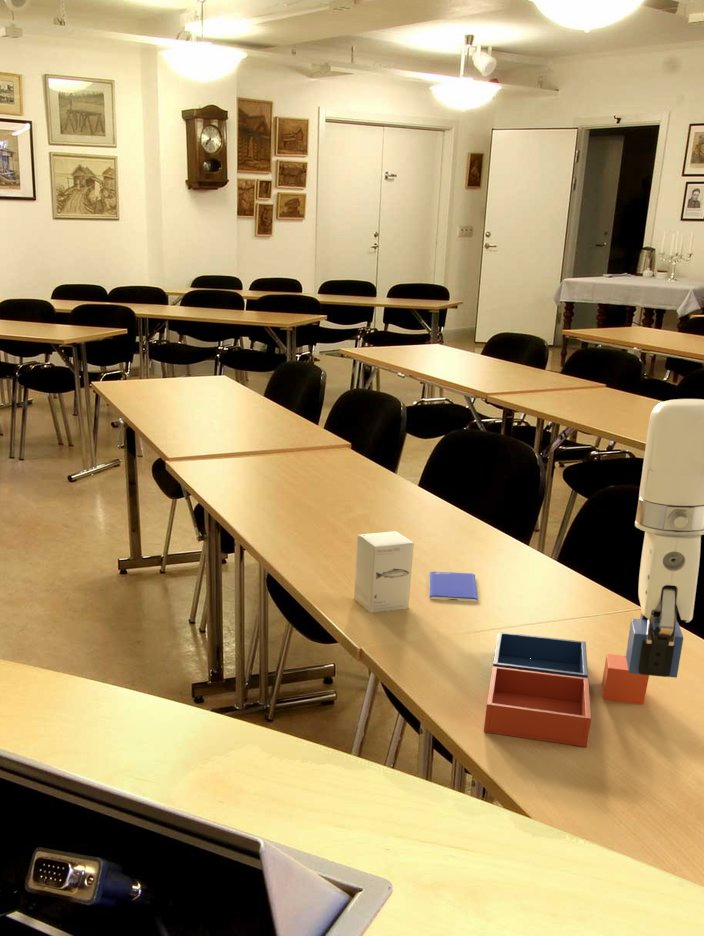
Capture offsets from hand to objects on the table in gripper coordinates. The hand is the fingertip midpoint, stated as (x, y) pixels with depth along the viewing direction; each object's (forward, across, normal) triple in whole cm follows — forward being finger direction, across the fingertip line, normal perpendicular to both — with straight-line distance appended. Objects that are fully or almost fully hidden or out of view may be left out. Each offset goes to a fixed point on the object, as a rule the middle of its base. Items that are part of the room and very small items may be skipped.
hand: (651, 663), depth 107 cm
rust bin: (+12, +6, +12) cm, 18 cm away
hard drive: (+11, +51, +27) cm, 59 cm away
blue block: (+1, 0, 0) cm, 1 cm away
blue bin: (+12, +18, +12) cm, 25 cm away
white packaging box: (+11, +40, +38) cm, 56 cm away
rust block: (+12, +16, +1) cm, 20 cm away
